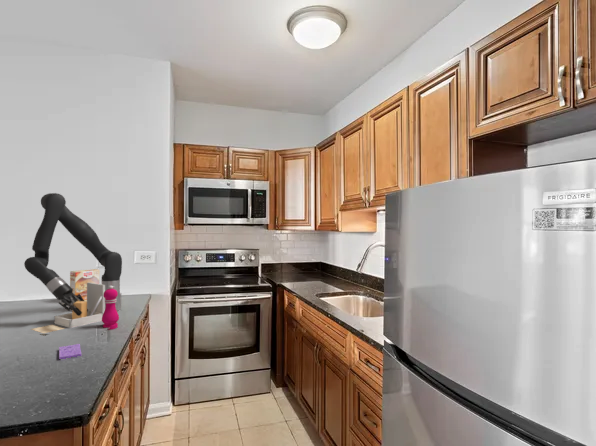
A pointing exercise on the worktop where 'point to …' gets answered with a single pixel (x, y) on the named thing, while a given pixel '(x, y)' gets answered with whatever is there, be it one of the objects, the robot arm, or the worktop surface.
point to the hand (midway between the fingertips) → (83, 313)
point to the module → (82, 307)
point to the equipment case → (93, 305)
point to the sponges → (69, 351)
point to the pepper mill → (110, 309)
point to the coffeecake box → (83, 281)
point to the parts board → (47, 329)
